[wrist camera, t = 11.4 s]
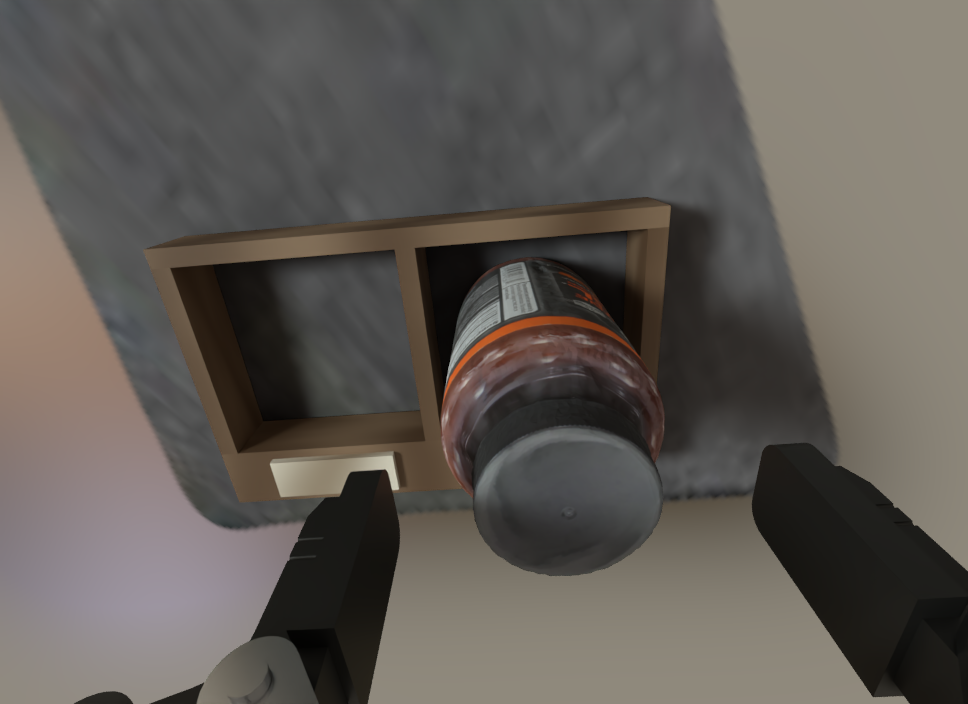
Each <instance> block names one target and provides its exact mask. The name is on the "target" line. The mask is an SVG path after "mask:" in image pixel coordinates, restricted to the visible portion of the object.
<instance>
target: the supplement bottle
mask: <svg viewBox="0 0 968 704" xmlns="http://www.w3.org/2000/svg"><path fill="white" fill-rule="evenodd" d="M664 422H665V414H664V406H663V403H662V399H661V395H660V392H659V390H658V387H657V385H656V382H655V379H654V378H653V376H652V375H651V373H650V371H649V370H648V368H647V367H646V365H645V364H644V362H643V361H642V359H641V357H640V356H639V355H638V354H637V352H636V351H635V349H634V347H633V346H632V344H631V343H630V342H629V341H628V339H627V338H626V336H625V335H624V334H623V332H622V331H621V329H620V328H619V327H618V326H617V324H616V323H615V322H614V320H613V319H612V317H611V316H610V315H609V313H608V312H607V310H606V309H605V307H604V305H603V304H602V303H601V302H600V301H599V299H598V298H597V296H596V295H595V293H594V291H593V290H592V289H591V288H590V286H589V285H588V284H587V283H586V282H585V281H584V279H582V278H581V277H579V276H578V275H577V274H576V273H575V272H573V271H572V270H570V269H569V268H567V267H565V266H564V265H561V264H559V263H557V262H554V261H551V260H547V259H543V258H533V257H526V258H519V259H514V260H510V261H507V262H504V263H501V264H499V265H497V266H495V267H493V268H492V269H490V270H488V271H487V272H486V273H484V274H483V275H482V276H481V277H480V278H479V279H478V280H477V281H476V282H475V283H474V284H473V286H472V287H471V288H470V289H469V291H468V293H467V295H466V297H465V298H464V301H463V304H462V306H461V309H460V312H459V316H458V319H457V325H456V331H455V337H454V341H453V346H452V353H451V358H450V364H449V368H448V375H447V380H446V386H445V391H444V397H443V405H442V411H441V442H442V447H443V452H444V455H445V458H446V461H447V463H448V466H449V468H450V469H451V471H452V473H453V475H454V477H455V478H456V480H457V481H458V482H459V484H460V485H461V486H462V487H463V489H464V490H465V491H466V492H467V493H468V494H469V495H470V496H471V497H472V498H473V510H474V517H475V522H476V524H477V527H478V530H479V532H480V534H481V536H482V537H483V539H484V541H485V542H486V543H487V544H488V545H489V546H490V548H491V549H492V550H493V551H494V552H495V553H496V554H497V555H498V556H500V557H502V558H504V559H505V560H506V561H508V562H509V563H510V564H512V565H514V566H517V567H519V568H521V569H523V570H526V571H531V572H535V573H538V574H546V575H549V576H561V575H562V576H572V575H580V574H587V573H592V572H594V571H597V570H601V569H605V568H608V567H610V566H612V565H613V564H615V563H617V562H619V561H621V560H622V559H624V558H625V557H627V556H628V555H630V554H632V553H633V552H634V551H635V550H636V549H638V548H639V547H640V546H641V545H642V544H643V543H644V542H645V541H646V539H647V538H648V537H649V536H650V535H651V534H652V532H653V529H654V528H655V527H656V525H657V523H658V521H659V519H660V515H661V511H662V505H663V489H662V482H661V479H660V475H659V473H658V470H657V468H656V465H655V462H656V460H657V458H658V456H659V452H660V449H661V445H662V441H663V438H664Z"/></svg>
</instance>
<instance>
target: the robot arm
mask: <svg viewBox="0 0 968 704" xmlns="http://www.w3.org/2000/svg"><path fill="white" fill-rule="evenodd" d="M752 512H753V517H754V520H755V523H756V525H757V527H758V530H759V532H760V533H761V535H762V536H763V538H764V539H765V541H766V542H767V543H768V545H769V546H770V548H771V549H772V551H773V552H774V554H775V555H776V557H777V558H778V559H779V561H780V562H781V564H782V565H783V567H784V568H785V570H786V571H787V572H788V574H789V575H790V577H791V578H792V580H793V581H794V583H795V584H796V586H797V587H798V588H799V590H800V592H801V593H802V594H803V596H804V597H805V599H806V600H807V602H808V603H809V605H810V606H811V608H812V609H813V610H814V611H815V613H816V615H817V616H818V618H819V619H820V620H821V622H822V623H823V625H824V626H825V628H826V629H827V631H828V632H829V633H830V635H831V637H832V638H833V639H834V641H835V642H836V644H837V645H838V647H839V648H840V650H841V651H842V653H843V654H844V656H845V657H846V658H847V660H848V661H849V663H850V664H851V666H852V667H853V669H854V670H855V672H856V673H857V675H858V676H859V677H860V679H861V680H862V681H863V683H864V685H865V686H866V688H867V689H868V691H869V692H870V693H871V695H872V696H873V697H888V696H904V697H905V698H906V699H907V701H908V702H909V703H910V704H968V571H967V570H966V569H965V568H963V567H962V566H961V565H960V564H959V563H958V562H957V561H956V560H954V559H953V558H952V557H951V556H950V555H949V554H948V553H947V552H946V551H945V550H944V549H943V548H941V547H940V546H939V545H938V544H937V543H936V542H935V541H934V540H933V539H931V538H930V537H929V536H928V535H927V534H926V533H925V532H924V531H923V530H922V529H921V528H919V527H918V526H914V525H913V523H912V520H911V519H910V518H909V517H907V516H906V515H905V514H904V513H903V512H902V511H901V510H900V509H899V508H894V506H893V503H892V502H891V501H890V500H889V499H888V498H886V497H885V496H884V495H883V494H882V493H881V492H880V491H879V490H878V489H877V488H875V487H874V486H873V485H872V484H871V483H870V482H868V481H866V480H864V479H863V478H861V477H859V476H857V475H856V474H854V473H852V472H850V471H849V470H847V469H845V468H843V467H842V466H834V465H833V464H832V463H831V462H830V461H829V460H828V459H827V458H826V457H825V456H824V455H823V454H822V453H821V452H819V451H818V450H817V449H816V448H815V447H814V446H813V445H811V444H809V443H794V444H779V445H768V446H766V447H765V448H764V450H763V452H762V456H761V461H760V466H759V470H758V475H757V480H756V485H755V489H754V494H753V499H752ZM399 544H400V528H399V520H398V516H397V511H396V506H395V502H394V497H393V492H392V488H391V483H390V478H389V475H388V472H387V470H385V469H383V470H367V471H352V472H350V473H349V475H348V477H347V479H346V482H345V484H344V487H343V489H342V492H341V494H340V497H329V498H325V499H324V500H323V501H322V502H321V503H320V504H319V505H318V506H317V507H316V509H315V510H314V511H313V512H312V513H311V514H310V515H309V516H308V517H307V519H306V522H305V524H304V526H303V528H302V530H301V533H300V535H299V537H298V542H297V543H296V544H295V546H294V548H293V550H292V552H291V554H290V560H289V561H287V563H286V565H285V567H284V569H283V572H282V574H281V576H280V578H279V580H278V583H277V585H276V587H275V589H274V591H273V594H272V595H271V598H270V600H269V602H268V605H267V606H266V609H265V611H264V613H263V615H262V617H261V619H260V622H259V624H258V626H257V628H256V630H255V632H254V634H253V636H252V638H251V640H250V641H249V642H247V643H245V644H243V645H241V646H239V647H238V648H236V649H235V650H233V651H232V652H231V653H230V654H228V655H227V656H226V657H225V658H224V659H223V660H222V661H221V662H220V663H219V664H218V665H217V666H216V667H215V668H214V670H213V671H212V672H211V673H210V675H209V676H208V678H207V679H206V681H205V682H204V683H202V684H200V685H198V686H196V687H193V688H191V689H188V690H186V691H183V692H180V693H177V694H175V695H172V696H169V697H167V698H164V699H161V700H159V701H156V702H153V703H151V704H368V699H369V694H370V689H371V684H372V679H373V674H374V669H375V665H376V660H377V654H378V650H379V645H380V640H381V635H382V631H383V626H384V621H385V616H386V611H387V606H388V601H389V597H390V591H391V586H392V582H393V577H394V571H395V567H396V562H397V558H398V552H399ZM74 704H133V703H132V701H131V700H130V699H129V698H128V697H127V696H126V695H124V694H123V693H120V692H103V693H98V694H95V695H92V696H89V697H86V698H84V699H82V700H80V701H78V702H76V703H74Z"/></svg>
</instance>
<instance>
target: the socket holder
mask: <svg viewBox="0 0 968 704" xmlns="http://www.w3.org/2000/svg"><path fill="white" fill-rule="evenodd" d="M670 211H671V205H668V204H665V203H662V202H660V201H657V200H654V199H651V198H648V197H643V198H631V199H620V200H608V201H596V202H584V203H572V204H560V205H549V206H537V207H525V208H513V209H501V210H489V211H478V212H466V213H454V214H442V215H430V216H419V217H407V218H395V219H383V220H371V221H359V222H348V223H336V224H324V225H312V226H300V227H288V228H277V229H265V230H253V231H241V232H229V233H217V234H206V235H194V236H184V237H181V238H178V239H175V240H172V241H169V242H166V243H163V244H159V245H156V246H153V247H150V248H147V249H144V250H143V251H144V253H145V256H146V258H147V261H148V264H149V266H150V269H151V272H152V274H153V277H154V279H155V282H156V285H157V287H158V290H159V292H160V295H161V298H162V300H163V303H164V306H165V308H166V311H167V313H168V316H169V319H170V321H171V324H172V326H173V329H174V332H175V334H176V337H177V340H178V342H179V345H180V347H181V350H182V353H183V355H184V358H185V360H186V363H187V366H188V368H189V371H190V374H191V376H192V379H193V381H194V384H195V387H196V389H197V392H198V394H199V397H200V400H201V402H202V405H203V408H204V410H205V413H206V415H207V418H208V421H209V423H210V426H211V429H212V431H213V434H214V436H215V439H216V442H217V444H218V447H219V449H220V452H221V455H222V457H223V460H224V463H225V465H226V468H227V470H228V473H229V476H230V478H231V481H232V483H233V486H234V489H235V491H236V494H237V497H238V499H239V502H254V501H270V500H286V499H302V498H318V497H334V496H340V494H341V492H342V489H343V487H344V484H345V482H346V479H347V477H348V475H349V473H350V472H352V471H367V470H383V469H385V470H387V472H388V475H389V478H390V483H391V488H392V492H393V493H398V492H414V491H430V490H446V489H462V488H463V487H462V486H461V485H460V484H459V482H458V481H457V480H456V478H455V477H454V475H453V473H452V471H451V469H450V468H449V466H448V463H447V461H446V458H445V455H444V452H443V447H442V442H441V411H442V405H443V397H444V385H443V378H442V370H441V363H440V355H439V348H438V340H437V333H436V325H435V318H434V310H433V303H432V295H431V288H430V280H429V273H428V265H427V258H426V250H425V247H431V246H443V245H455V244H467V243H479V242H492V241H504V240H516V239H528V238H540V237H553V236H565V235H577V234H589V233H601V232H614V231H626V230H627V251H626V274H625V297H624V320H623V334H624V335H625V336H626V338H627V339H628V341H629V342H630V343H631V344H632V346H633V347H634V349H635V351H636V352H637V354H638V355H639V356H640V357H641V359H642V361H643V362H644V364H645V365H646V367H647V368H648V370H649V371H650V373H651V375H652V376H653V378H654V379H655V382H656V385H657V374H658V362H659V349H660V337H661V324H662V311H663V299H664V286H665V274H666V261H667V248H668V236H669V223H670ZM394 249H395V256H396V262H397V268H398V274H399V280H400V287H401V293H402V299H403V305H404V312H405V318H406V324H407V330H408V336H409V343H410V349H411V355H412V361H413V368H414V374H415V380H416V386H417V392H418V399H419V405H420V411H406V412H391V413H377V414H362V415H347V416H333V417H318V418H304V419H289V420H275V421H263V419H262V416H261V413H260V410H259V406H258V403H257V400H256V397H255V394H254V391H253V388H252V385H251V382H250V379H249V376H248V373H247V370H246V367H245V363H244V360H243V357H242V354H241V351H240V348H239V345H238V342H237V339H236V336H235V333H234V330H233V327H232V324H231V320H230V317H229V314H228V311H227V308H226V305H225V302H224V299H223V296H222V293H221V290H220V287H219V284H218V281H217V277H216V274H215V271H214V268H213V265H212V264H223V263H236V262H248V261H260V260H272V259H284V258H297V257H309V256H321V255H333V254H345V253H358V252H370V251H382V250H394Z"/></svg>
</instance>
